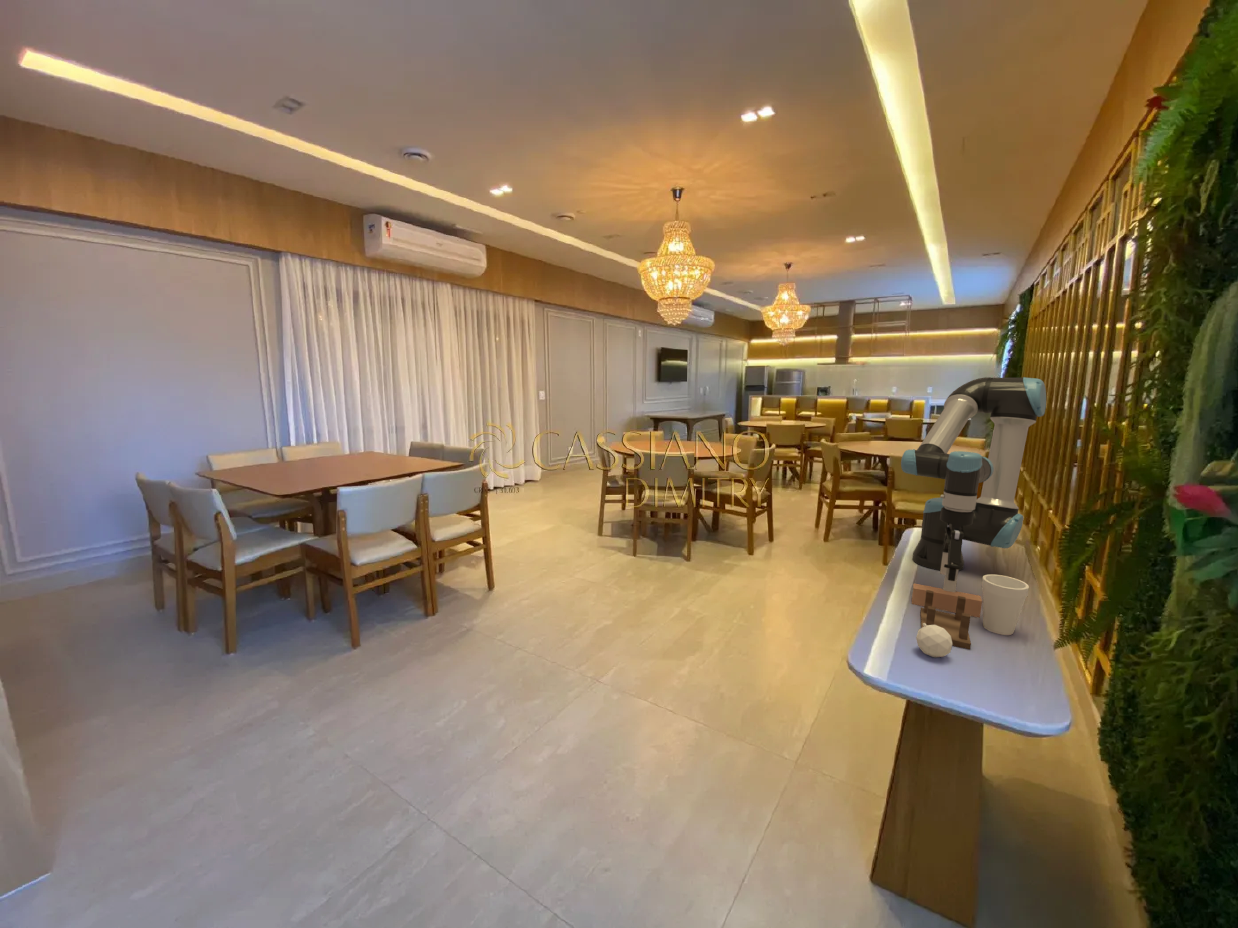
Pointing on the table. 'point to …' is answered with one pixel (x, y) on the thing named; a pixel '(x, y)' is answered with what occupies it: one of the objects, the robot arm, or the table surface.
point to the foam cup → (1002, 602)
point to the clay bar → (947, 599)
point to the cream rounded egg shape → (934, 640)
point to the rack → (948, 620)
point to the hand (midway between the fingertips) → (947, 582)
